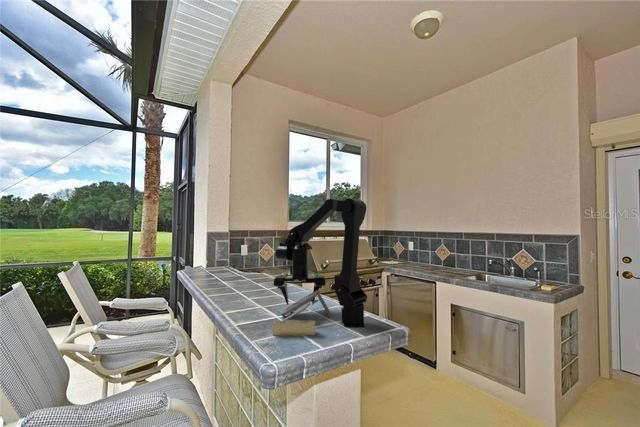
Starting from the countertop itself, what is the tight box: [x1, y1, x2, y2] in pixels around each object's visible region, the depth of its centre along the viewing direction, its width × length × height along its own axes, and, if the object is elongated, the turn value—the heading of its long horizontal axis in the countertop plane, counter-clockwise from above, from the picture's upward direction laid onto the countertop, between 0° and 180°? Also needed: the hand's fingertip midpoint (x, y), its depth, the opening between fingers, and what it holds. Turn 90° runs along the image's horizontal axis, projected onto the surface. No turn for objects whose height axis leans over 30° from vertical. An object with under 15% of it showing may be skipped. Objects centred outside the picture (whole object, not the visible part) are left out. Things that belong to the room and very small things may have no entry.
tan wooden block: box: [272, 320, 316, 337], centre depth 82 cm, size 12×3×4 cm, turn 90°
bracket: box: [281, 290, 333, 321], centre depth 94 cm, size 10×14×10 cm
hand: (300, 304), depth 104 cm, fingers open, 9 cm apart
